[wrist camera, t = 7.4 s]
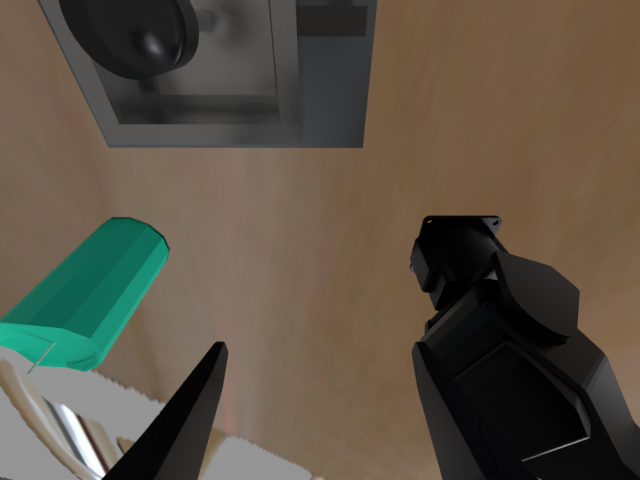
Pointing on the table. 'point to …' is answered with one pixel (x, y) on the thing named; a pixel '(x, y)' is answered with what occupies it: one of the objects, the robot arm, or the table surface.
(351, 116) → the slate mat
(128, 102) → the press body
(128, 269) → the candle
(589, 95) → the table surface
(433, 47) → the table surface
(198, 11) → the plunger
